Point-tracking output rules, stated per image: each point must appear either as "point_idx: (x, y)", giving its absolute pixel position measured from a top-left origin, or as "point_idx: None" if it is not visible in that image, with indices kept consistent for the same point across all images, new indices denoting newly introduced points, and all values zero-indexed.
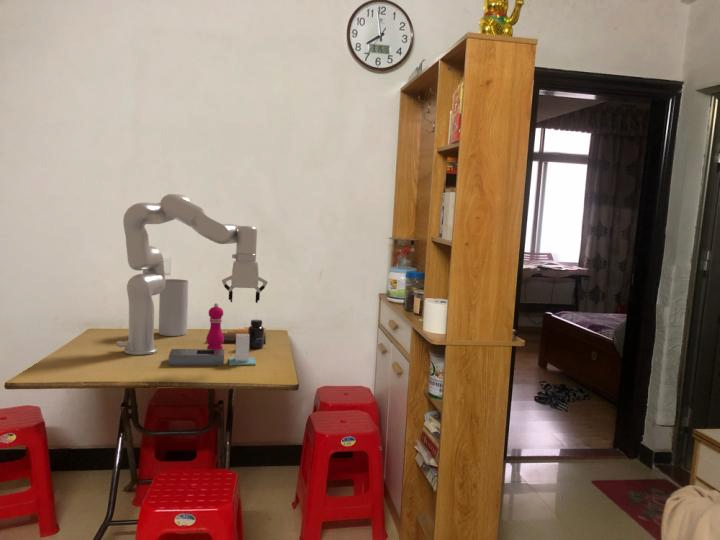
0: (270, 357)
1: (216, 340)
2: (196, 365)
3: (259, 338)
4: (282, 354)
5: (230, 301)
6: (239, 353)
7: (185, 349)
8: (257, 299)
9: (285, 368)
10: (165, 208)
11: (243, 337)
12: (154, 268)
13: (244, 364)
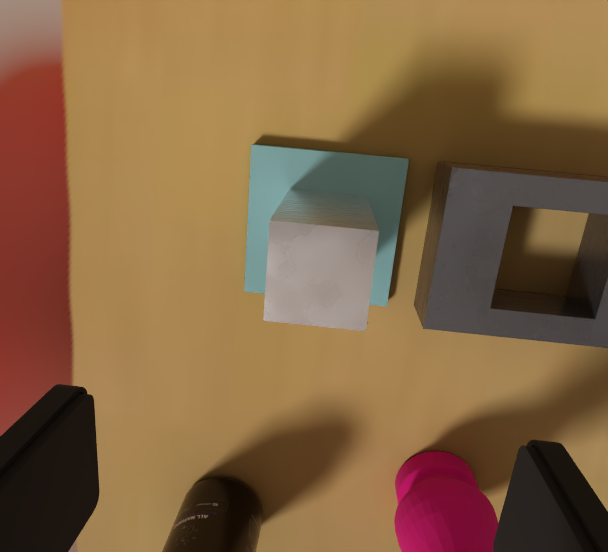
0: (158, 312)
1: (447, 491)
2: (596, 176)
3: (191, 520)
4: (92, 365)
5: (560, 445)
6: (345, 202)
7: None
8: (26, 416)
9: (83, 58)
10: None
11: (319, 222)
12: None
13: (318, 150)
